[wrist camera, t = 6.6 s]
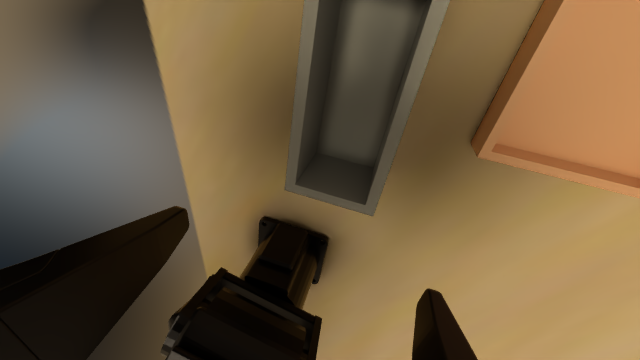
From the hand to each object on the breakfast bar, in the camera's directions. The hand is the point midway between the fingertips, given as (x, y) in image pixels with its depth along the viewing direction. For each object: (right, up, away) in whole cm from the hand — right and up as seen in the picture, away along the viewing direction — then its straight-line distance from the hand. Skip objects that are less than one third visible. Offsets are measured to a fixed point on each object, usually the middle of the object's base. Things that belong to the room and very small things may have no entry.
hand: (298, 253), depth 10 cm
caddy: (+3, +8, +7) cm, 12 cm away
